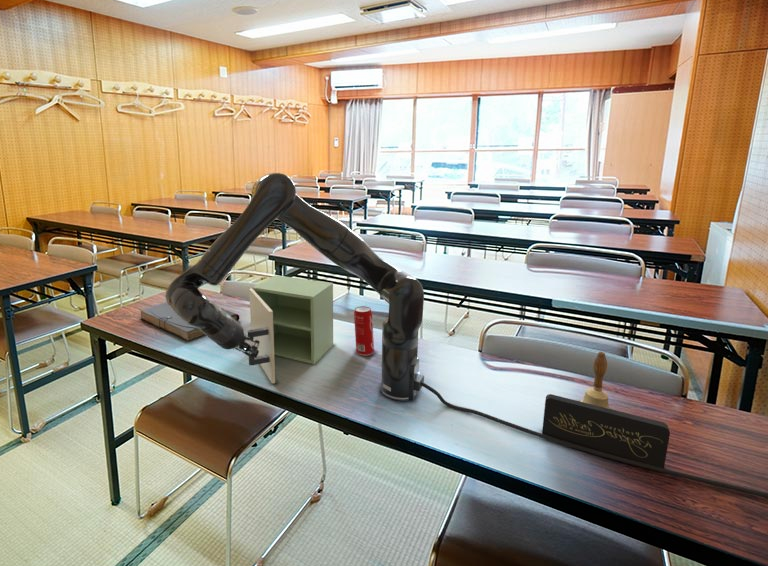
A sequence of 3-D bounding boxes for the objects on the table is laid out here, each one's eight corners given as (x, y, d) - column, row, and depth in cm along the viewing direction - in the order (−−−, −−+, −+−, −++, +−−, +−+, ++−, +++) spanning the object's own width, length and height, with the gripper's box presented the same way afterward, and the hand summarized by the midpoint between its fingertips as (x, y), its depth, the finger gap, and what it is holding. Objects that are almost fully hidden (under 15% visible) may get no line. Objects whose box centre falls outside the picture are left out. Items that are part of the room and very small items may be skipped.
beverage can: (374, 357, 136) (374, 312, 133) (353, 355, 137) (353, 311, 134) (374, 348, 141) (374, 305, 138) (354, 347, 143) (354, 304, 140)
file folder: (139, 309, 171) (190, 294, 189) (140, 319, 172) (190, 303, 189) (186, 331, 149) (239, 312, 167) (187, 342, 150) (239, 322, 167)
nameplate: (661, 467, 87) (669, 423, 85) (663, 473, 85) (670, 428, 83) (542, 432, 98) (546, 392, 96) (541, 436, 97) (545, 396, 95)
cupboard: (314, 364, 132) (313, 296, 128) (254, 350, 142) (251, 287, 138) (333, 345, 145) (333, 282, 140) (277, 333, 155) (275, 275, 151)
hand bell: (617, 427, 99) (626, 364, 96) (574, 416, 103) (581, 355, 100) (613, 408, 106) (622, 349, 103) (573, 399, 110) (580, 342, 107)
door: (252, 388, 119) (248, 314, 115) (234, 354, 140) (231, 290, 135) (275, 383, 122) (272, 311, 117) (254, 350, 142) (252, 288, 138)
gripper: (250, 319, 106) (278, 345, 119) (207, 311, 113) (238, 336, 126) (239, 348, 103) (269, 371, 116) (196, 338, 110) (228, 361, 123)
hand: (253, 353), depth 121 cm, fingers closed on door, 2 cm apart
